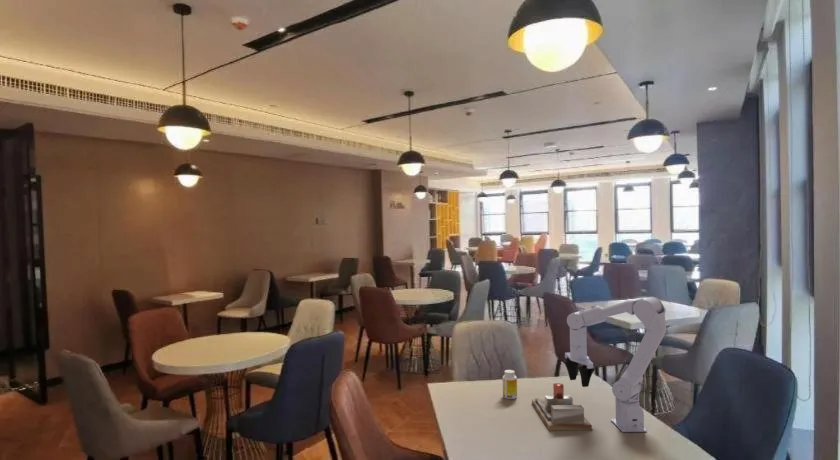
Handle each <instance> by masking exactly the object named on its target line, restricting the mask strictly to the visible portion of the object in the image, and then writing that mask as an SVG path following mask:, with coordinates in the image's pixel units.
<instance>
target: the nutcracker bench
mask: <svg viewBox="0 0 840 460" xmlns="http://www.w3.org/2000/svg"><path fill="white" fill-rule="evenodd" d="M531 404H532V406H533V407H534V409H535V411H536V412H537V414H538V415H539V417H540V419H541V420H542V422H543V423H544V425H545V426H546V428H547V429H548V431H593V425H592V424H591V422H590V421H589V420H588V419H587V417H585V408H584V407H583V406H582V404H574V403H573V405H551V411H547V410H546V409H545V398H541V399H540V398H539V397H535V399H531Z"/></svg>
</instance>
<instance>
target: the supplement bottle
mask: <svg viewBox="0 0 840 460" xmlns="http://www.w3.org/2000/svg"><path fill="white" fill-rule="evenodd" d="M502 396H503V398H505V399H507V400H514V399H517V398H518V378H517V375H516V373H515V370H513V369H506V370H504V375H503V376H502Z"/></svg>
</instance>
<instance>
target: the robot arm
mask: <svg viewBox="0 0 840 460" xmlns="http://www.w3.org/2000/svg"><path fill="white" fill-rule="evenodd" d="M625 313H628V314H629V315H631V316H635V317H636V318H637V319H638V320H639V321H640V322H641V323H642V324H643V326H644V328H645V331H646V332H645V334H644V335H643V337H642V339H641V341H640V343H639V344H638V347H637V349H636V351H635V353H634V355H633V356H632V359H631V360H630V362H629V364H628V366H627V368H626V370H625V371H624V372H623V374H622V375H621V376H620V378H619V379H618V380H617V381H616V382H614V383H613V384H612V386H611V387H612V388H611V392H612V393H613V396H614V397H615V399H614V400H615V418H611V419H610V420H611V422H612V424H614V425H615V426H616V427H617V428H618V429H619V430H620V431H621V432H622V433H637V432H638V433H639V432H640V433H641V432H642V433H643V432H644V433H645V432H647V431H648V430H647V429H646V428H645V421H644V420H645V418H644V416H645V414H644V409H642V407H641V406H640V397H639V393H640V392H641V391H642V382H643V380H644V377H643V376H644V374H645V372H646V371H647V368H648V367H649V365H650V363H651V362H652V359H653V357H654V356H655V353H656V352H657V350H658V348H659V345H660V344H661V342H662V341H663V338H664V337H665V335H666V333H667V325H666V323H667V322H666V307H665V306H664V304H663V302H662V301H661V300H660V299H659V298H658V297H655V296H648V297H646V298H644V297H642V298H641V297H640V298H636V299H630V300H629V299H628V300H626V301H623V302H620V303H617V304H613V305H610V306H607V307H603V306H601V305H597V304H593V305H591V306H590V308H586V309H584V308H581V309H579V310H578V311H575V312H572V313H570V314H568V315H567V317H566V324H567V326H568V327H569V349H570V351H569V352H564V358H565V359H564V360H563V364H564V366H565V368H566V371H567V373H568V378H569V380H570V381H577V375H578V374H577V373H578V372H579V374H580V381H581V383H580V384H581V386H582V387H583V388H588V387H589V385H590V382H591V378H592V375H593V374H594V372H595V370H596V369H595V367H594V362H592V361H591V359H590V356H588V347H587V345H588V344H587V342H588V341H587V340H588V339H587V337H588V336H587V335H588V334H587V327H590V326H594V325H597V324H600V323H604V322H606V321H607V318H608V317H612V316H617V315H621V314H625ZM579 365H581V366H579Z"/></svg>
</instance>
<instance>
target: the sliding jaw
mask: <svg viewBox="0 0 840 460" xmlns="http://www.w3.org/2000/svg"><path fill="white" fill-rule="evenodd" d="M552 386H553V387H552V389H553V393H552V394H553V395H544V399H545V409H546V410H547V411H551V405H573V404H574V403H573V402H574V401H573V397H572V395H567V394H566V395H564V393H565V388H564V384H563V383H559V382H555V383H553V385H552Z"/></svg>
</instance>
